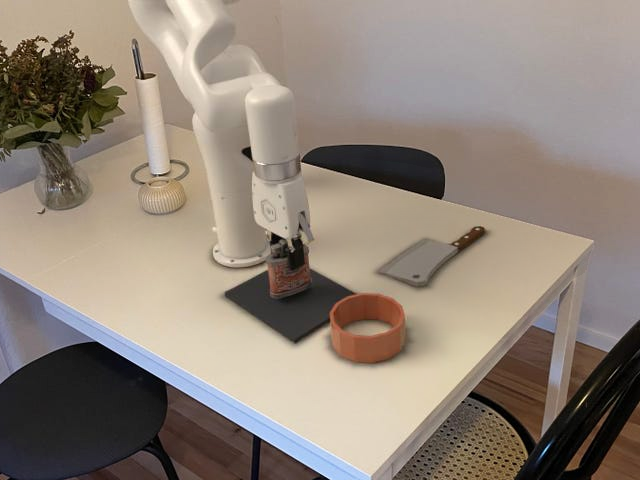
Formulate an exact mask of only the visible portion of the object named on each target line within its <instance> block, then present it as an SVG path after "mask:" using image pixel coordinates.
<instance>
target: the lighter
mask: <svg viewBox="0 0 640 480" xmlns="http://www.w3.org/2000/svg"><path fill="white" fill-rule="evenodd" d="M297 239H298V238H297V236H295V237H293V240H294V242H295V241H296V240H297ZM303 248H304V258H305V264H304V265H303V266H301V267H299V268H297V269H295V270H294V271H291V270H289V266H288V257H287V250H289V247H288V243H287V239H286V240H285V239H282V240H280V241H279V243H278V244H275V245H272V246H271V252H272V254H270V255H268V256H267V257H266V260H265V264H266V267H267V270H268V273H269V280H270V288H271V289H270V295H271V296H272V297H273V298H281V297H285V296H289V295H292V294H295V293H298V292H300V291H303V290H305V289H307V288H308V287H310V286H312V279H311V276H310V269H311V267H310V257H309V253H310V248H309V246H308V245H307V244H306V245H305V246H304V247H303Z"/></svg>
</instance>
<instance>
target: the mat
mask: <svg viewBox="0 0 640 480" xmlns="http://www.w3.org/2000/svg"><path fill="white" fill-rule="evenodd" d="M310 276H311V279H312V286H310V287H308V288H307V289H305V290H303V291H300V292H298V293H295V294H292V295H289V296H285V297H281V298H273V297H272V296H271V295H270V289H271V288H270V280H269V273H268V269H267V270H264V271H262V272H261V273H259V274H257V275H254V276H253V277H251V278H249V279H247V280H246V281H243V282H242V283H240V284H238V285H236V286H234V287H232V288H230V289H229V290H226V291H224V297H225V298H227V299H229V300H230V301H231V302H233V303H235V304H236V305H238V306H239V307H240V308H242V309H244V310H245V311H246V312H248V313H250V314H251V316H254V317H255V318H257V319H258V320H260V321H261V322H263V323H264V324H266V325H267V326H268V327H270V328H272V330H274V331H276V332H277V333H279V334H280V335H282V336H283V337H285V338H286V339H288V340H289V341H291V342H292V343H294V344H296V343H298V342H299V341H301V340H302V339H303V338H305V337H308V335H310V334H312V333H313V332H315V331H317V330H318V329H320V328H322V327H324V326H325V325H326V324H327V325H328V323H329V322H330V312H331V310H332V308H333V307H334V305H335V304H336V303H337V302H339V301H341V300H342V299H344V298H346V297H348V296H352V295H356V294H357V293H356V292H354V291H352V290H350V289H349V288H346V287H345V286H343V285H341V284H339V283H337V282H336V281H334V280H332V279H330V278H328V277H326V276H325V275H323V274H321V273H319V272H317V271H315V270H314V269H312V268H310Z"/></svg>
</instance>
